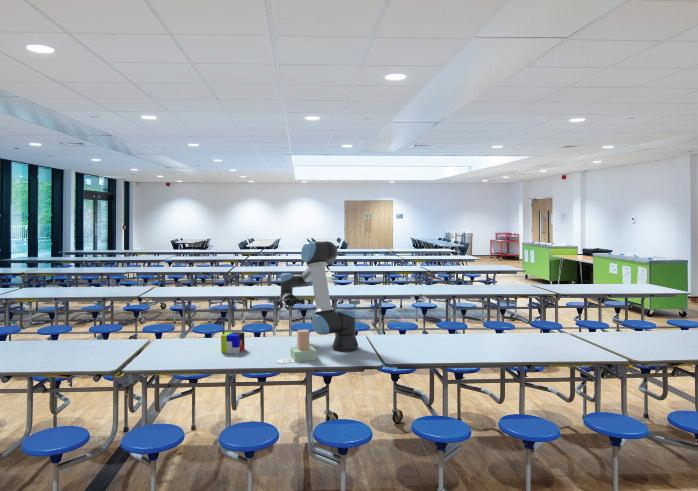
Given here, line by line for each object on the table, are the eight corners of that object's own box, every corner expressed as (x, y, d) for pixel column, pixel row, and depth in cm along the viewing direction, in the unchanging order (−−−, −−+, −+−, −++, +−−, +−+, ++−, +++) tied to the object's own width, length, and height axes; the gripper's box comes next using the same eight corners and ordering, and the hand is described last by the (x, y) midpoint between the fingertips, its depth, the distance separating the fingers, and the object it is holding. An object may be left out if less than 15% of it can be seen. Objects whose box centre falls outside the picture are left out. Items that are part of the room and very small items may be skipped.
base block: (311, 354, 291) (311, 345, 291) (316, 359, 280) (316, 350, 279) (290, 355, 288) (290, 347, 287) (294, 361, 276) (294, 352, 276)
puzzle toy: (237, 353, 293) (237, 336, 293) (221, 352, 295) (221, 335, 295) (244, 349, 303) (244, 332, 303) (228, 348, 305) (228, 331, 305)
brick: (307, 347, 287) (307, 329, 286) (309, 349, 282) (309, 331, 281) (297, 347, 285) (297, 330, 285) (299, 350, 280) (299, 332, 280)
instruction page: (293, 358, 282) (293, 357, 282) (297, 361, 276) (297, 361, 276) (275, 360, 278) (275, 360, 278) (279, 363, 272) (279, 363, 272)
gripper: (309, 304, 324) (317, 309, 304) (269, 307, 317) (275, 312, 296) (309, 292, 324) (317, 296, 303) (269, 294, 316) (274, 299, 296)
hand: (296, 304), depth 300 cm, fingers open, 13 cm apart
